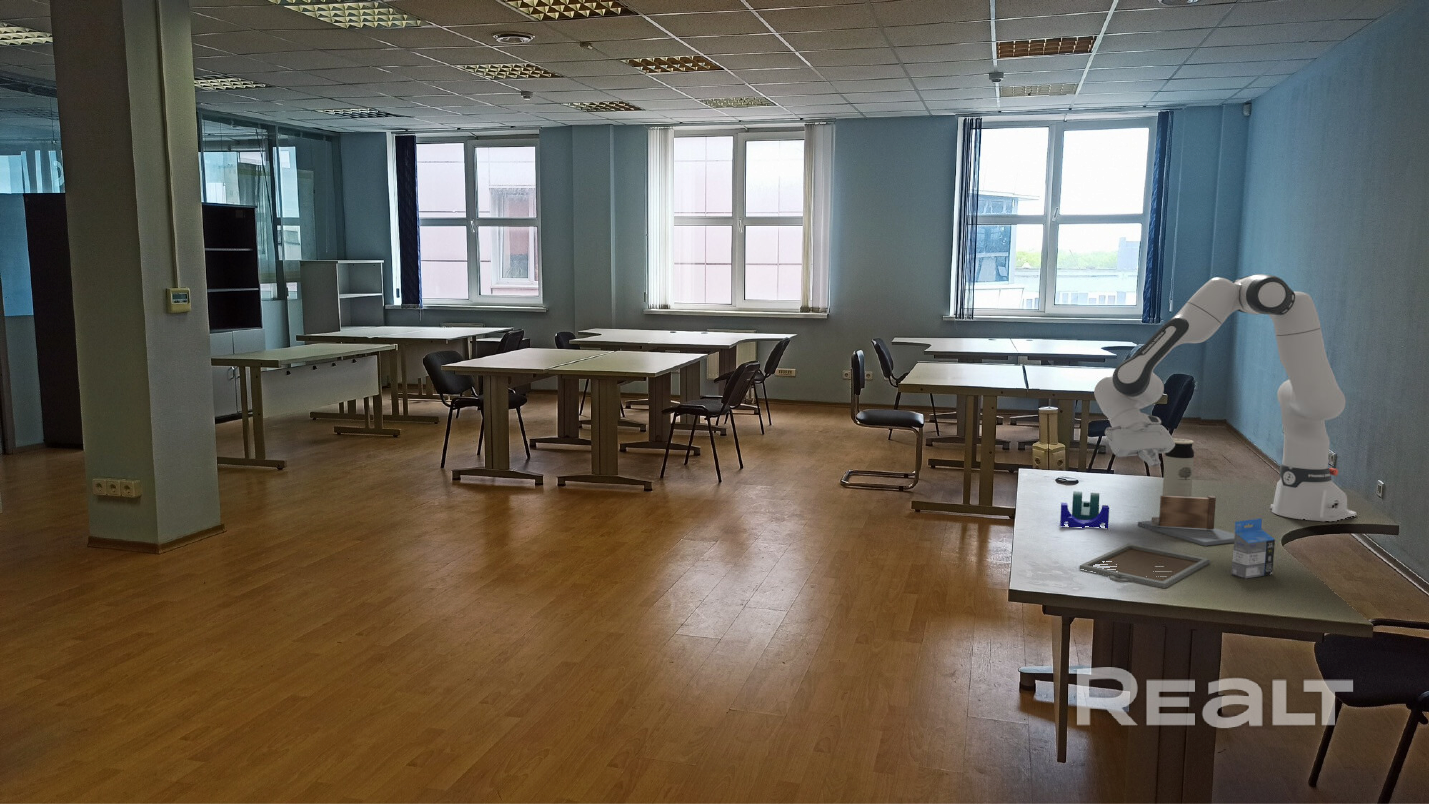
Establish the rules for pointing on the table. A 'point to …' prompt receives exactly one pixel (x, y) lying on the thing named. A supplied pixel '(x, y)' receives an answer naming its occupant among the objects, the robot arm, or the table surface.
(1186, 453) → the travel mug
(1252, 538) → the ink cartridge box
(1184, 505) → the gate leaf
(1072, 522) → the cable clip
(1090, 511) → the bracket
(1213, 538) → the grey plate
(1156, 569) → the picture frame
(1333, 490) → the robot arm
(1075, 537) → the table surface
